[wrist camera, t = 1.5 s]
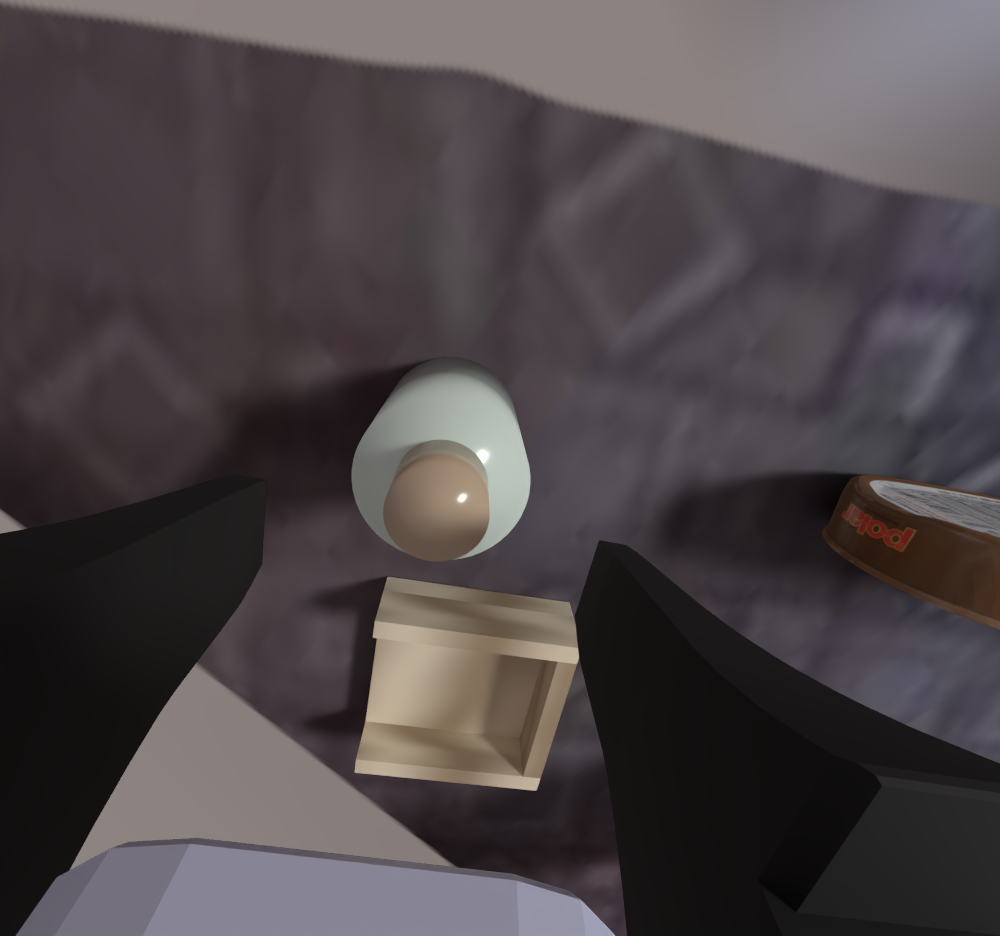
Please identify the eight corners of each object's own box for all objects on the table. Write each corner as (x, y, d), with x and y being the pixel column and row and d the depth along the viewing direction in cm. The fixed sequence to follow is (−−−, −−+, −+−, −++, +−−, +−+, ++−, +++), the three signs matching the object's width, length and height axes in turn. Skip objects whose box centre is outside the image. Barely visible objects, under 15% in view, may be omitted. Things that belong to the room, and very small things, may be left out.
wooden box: (367, 716, 25) (354, 772, 23) (387, 576, 23) (374, 620, 20) (530, 734, 26) (536, 791, 24) (569, 602, 23) (581, 648, 21)
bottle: (379, 469, 21) (325, 586, 13) (394, 345, 19) (341, 399, 12) (501, 490, 21) (515, 612, 14) (527, 370, 20) (559, 437, 12)
